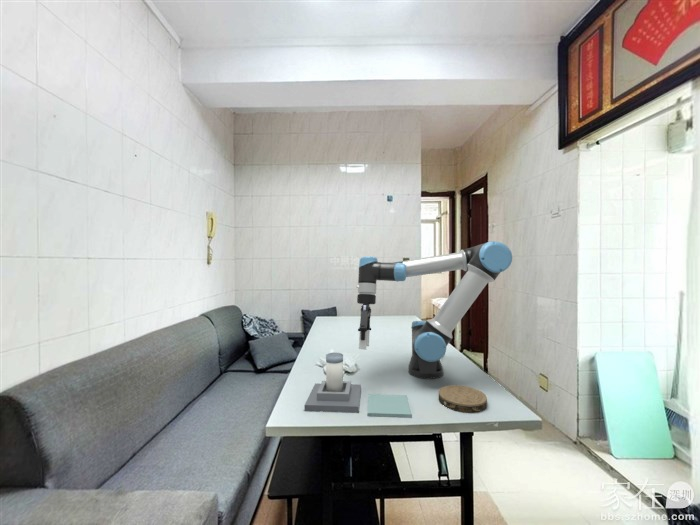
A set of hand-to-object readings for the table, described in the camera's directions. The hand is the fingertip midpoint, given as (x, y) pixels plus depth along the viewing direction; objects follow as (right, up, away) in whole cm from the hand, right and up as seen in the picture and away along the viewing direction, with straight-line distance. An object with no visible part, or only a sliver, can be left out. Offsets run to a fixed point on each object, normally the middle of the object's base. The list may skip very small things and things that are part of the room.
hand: (364, 347), depth 118 cm
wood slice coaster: (+34, -16, -14) cm, 40 cm away
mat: (+7, -15, -16) cm, 24 cm away
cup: (-11, -14, -11) cm, 21 cm away
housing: (-11, -16, -11) cm, 22 cm away
